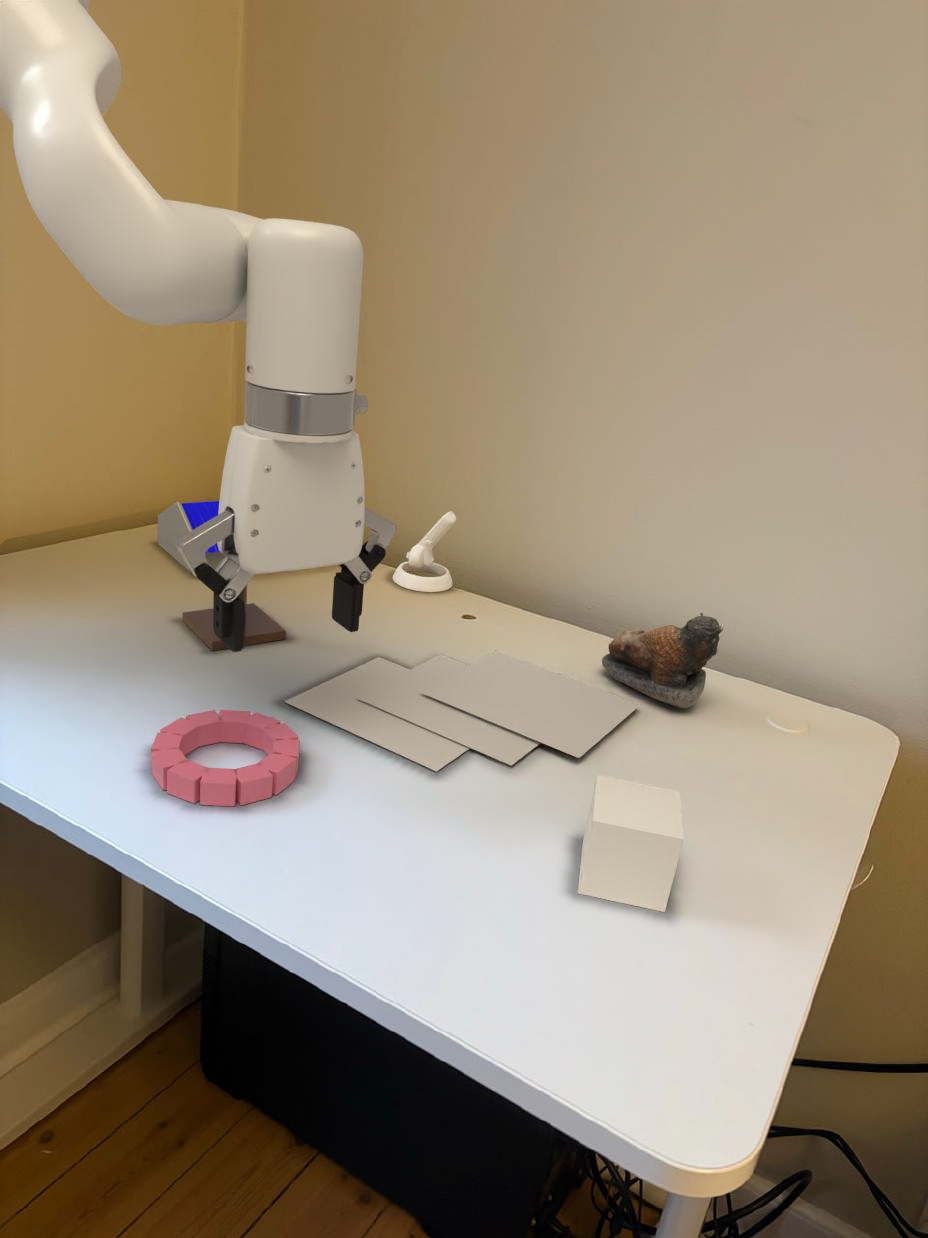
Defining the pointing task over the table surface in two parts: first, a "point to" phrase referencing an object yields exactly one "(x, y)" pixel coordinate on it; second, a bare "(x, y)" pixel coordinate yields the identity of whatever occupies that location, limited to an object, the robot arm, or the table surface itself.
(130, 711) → the table surface
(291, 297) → the robot arm
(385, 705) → the paper stack
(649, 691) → the bison figurine
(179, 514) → the roof
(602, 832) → the off-white cube
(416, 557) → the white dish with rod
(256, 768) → the ring
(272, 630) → the stand
